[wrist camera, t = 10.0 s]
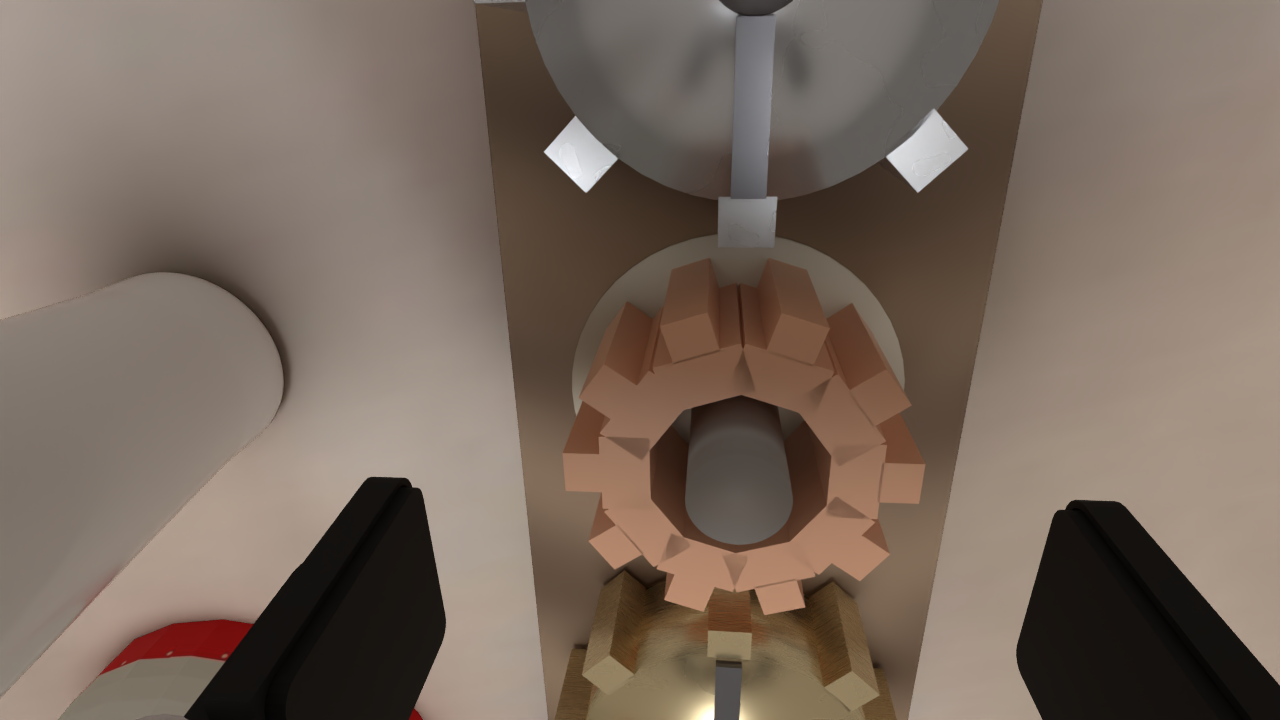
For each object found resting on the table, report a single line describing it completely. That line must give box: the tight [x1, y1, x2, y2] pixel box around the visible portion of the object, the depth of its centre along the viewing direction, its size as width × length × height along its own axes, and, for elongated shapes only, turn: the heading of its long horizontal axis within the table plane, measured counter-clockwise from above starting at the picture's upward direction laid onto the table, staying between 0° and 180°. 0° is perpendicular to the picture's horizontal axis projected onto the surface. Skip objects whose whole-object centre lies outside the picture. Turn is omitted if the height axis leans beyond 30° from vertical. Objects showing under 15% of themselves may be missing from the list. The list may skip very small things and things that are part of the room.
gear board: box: [475, 0, 1043, 720], centre depth 16 cm, size 30×11×6 cm, turn 1°
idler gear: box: [562, 258, 925, 615], centre depth 16 cm, size 7×7×4 cm
